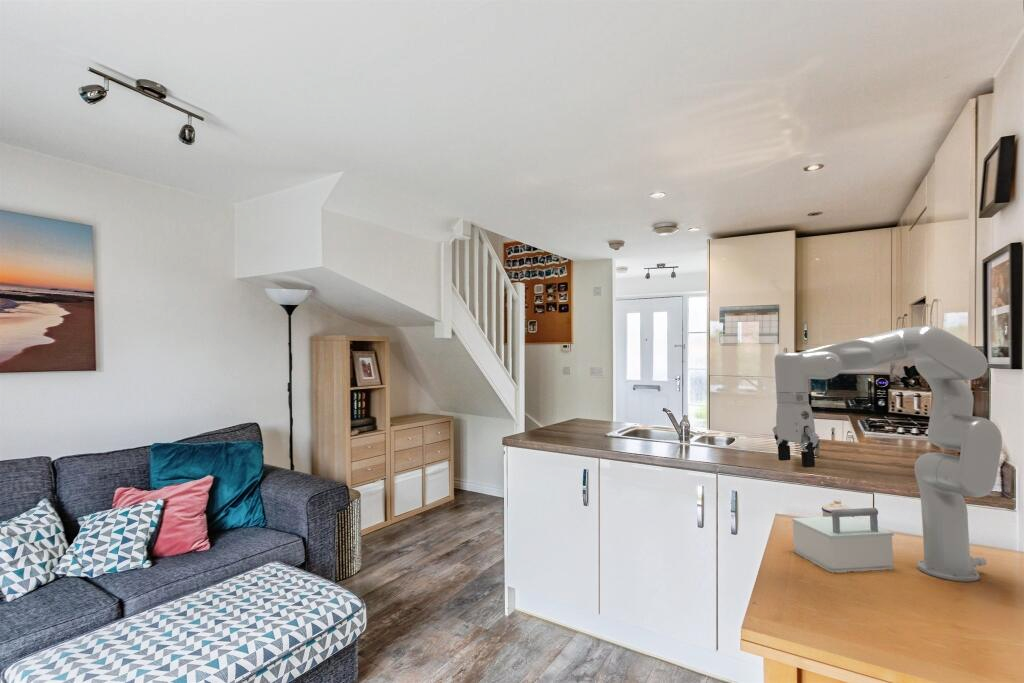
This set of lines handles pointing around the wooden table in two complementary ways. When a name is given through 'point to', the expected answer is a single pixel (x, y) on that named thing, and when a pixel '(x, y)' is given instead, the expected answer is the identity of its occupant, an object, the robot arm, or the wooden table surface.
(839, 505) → the teacup with lid
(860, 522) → the carton lid
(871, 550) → the carton
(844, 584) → the wooden table surface
